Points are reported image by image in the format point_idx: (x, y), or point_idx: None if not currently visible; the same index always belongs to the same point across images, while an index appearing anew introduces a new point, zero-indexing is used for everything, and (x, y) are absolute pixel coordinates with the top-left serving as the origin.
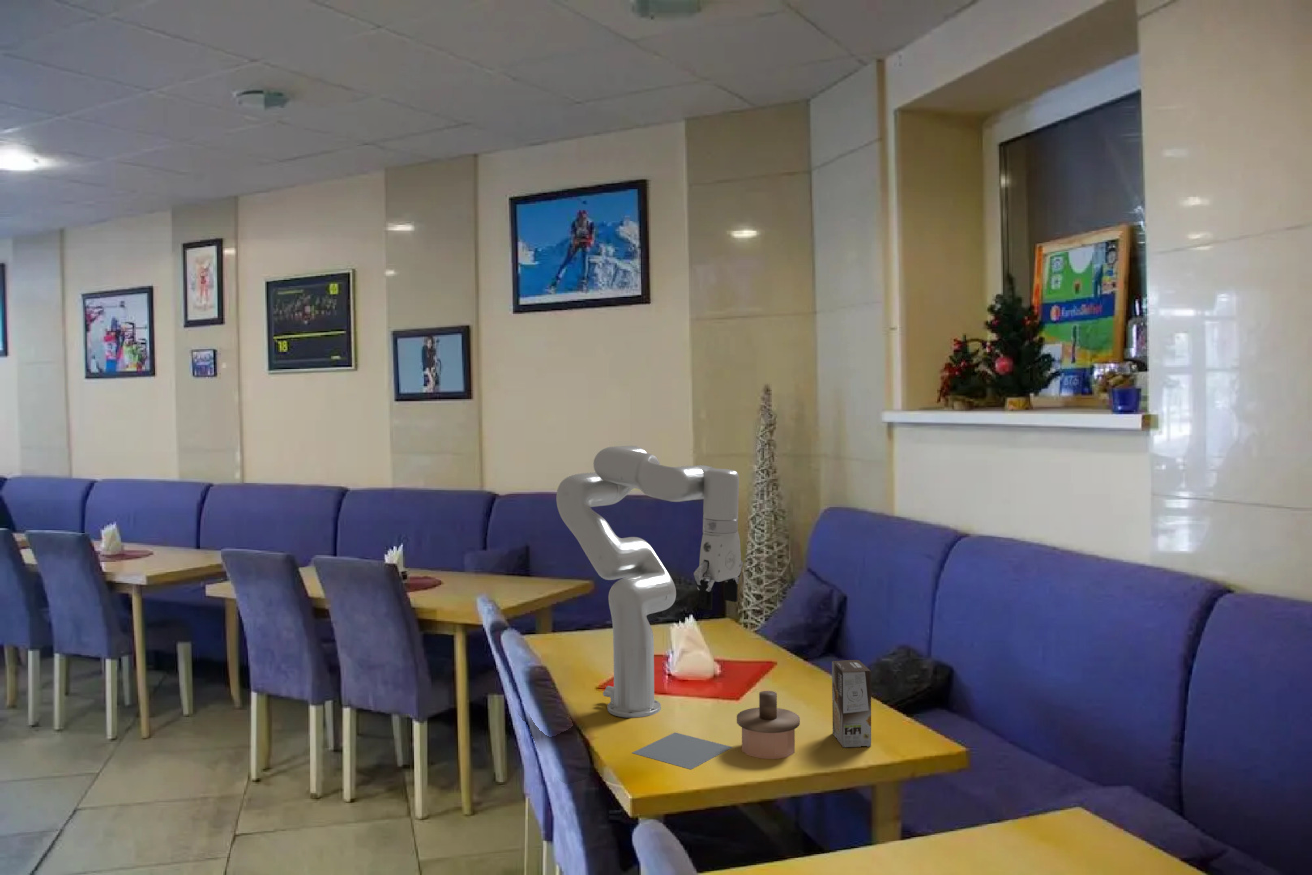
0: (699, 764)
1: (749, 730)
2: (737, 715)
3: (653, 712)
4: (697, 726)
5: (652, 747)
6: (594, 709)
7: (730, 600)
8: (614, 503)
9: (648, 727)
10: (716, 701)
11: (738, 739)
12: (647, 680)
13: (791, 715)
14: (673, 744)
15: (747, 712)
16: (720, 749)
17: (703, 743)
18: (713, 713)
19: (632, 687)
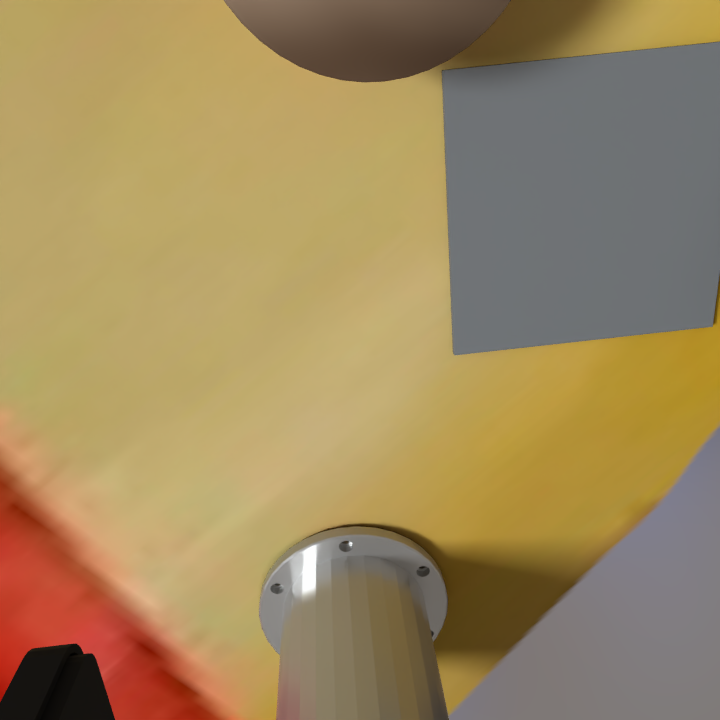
0: (689, 47)
1: None
2: (452, 53)
3: (354, 531)
4: (330, 348)
5: (630, 309)
6: None
7: (109, 717)
8: None
9: (456, 460)
10: (56, 478)
11: (334, 126)
12: (366, 639)
13: None
14: (562, 273)
15: (379, 41)
16: (499, 93)
17: (484, 194)
18: (171, 399)
19: (422, 641)
